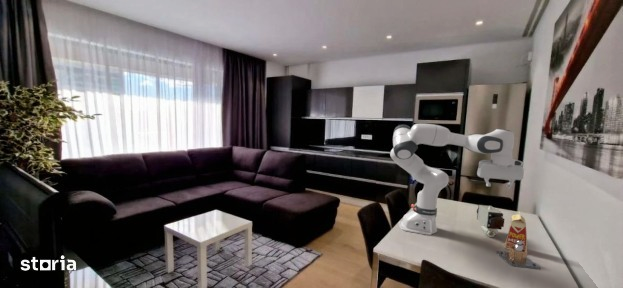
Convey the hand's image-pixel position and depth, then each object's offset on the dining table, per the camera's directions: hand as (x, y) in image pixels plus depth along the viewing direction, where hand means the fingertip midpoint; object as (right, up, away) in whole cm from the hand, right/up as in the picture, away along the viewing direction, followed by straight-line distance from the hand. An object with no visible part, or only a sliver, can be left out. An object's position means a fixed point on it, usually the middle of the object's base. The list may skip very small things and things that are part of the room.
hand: (498, 187), depth 129 cm
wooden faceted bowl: (+4, -34, -7) cm, 35 cm away
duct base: (+4, -35, -7) cm, 36 cm away
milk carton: (+13, -35, +5) cm, 37 cm away
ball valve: (+10, -33, +22) cm, 41 cm away
